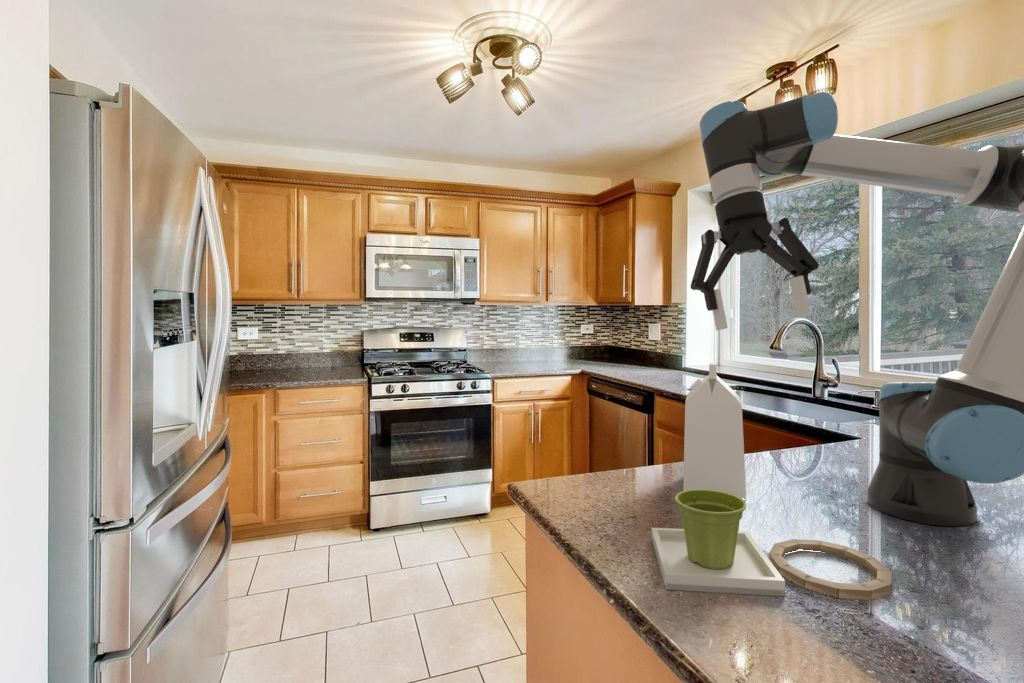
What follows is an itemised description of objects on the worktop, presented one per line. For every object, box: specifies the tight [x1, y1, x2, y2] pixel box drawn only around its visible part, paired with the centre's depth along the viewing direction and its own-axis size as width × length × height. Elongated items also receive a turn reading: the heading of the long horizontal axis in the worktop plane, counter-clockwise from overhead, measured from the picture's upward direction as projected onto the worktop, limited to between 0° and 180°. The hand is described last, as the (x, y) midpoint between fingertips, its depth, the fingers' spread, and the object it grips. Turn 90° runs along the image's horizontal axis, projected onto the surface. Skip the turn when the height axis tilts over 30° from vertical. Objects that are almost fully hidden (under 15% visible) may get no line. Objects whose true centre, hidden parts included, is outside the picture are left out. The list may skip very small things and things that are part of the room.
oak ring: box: [768, 538, 893, 601], centre depth 68 cm, size 14×14×1 cm
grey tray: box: [651, 527, 786, 597], centre depth 71 cm, size 15×15×2 cm
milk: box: [682, 361, 747, 500], centre depth 102 cm, size 12×12×26 cm
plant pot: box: [674, 489, 747, 569], centre depth 70 cm, size 9×9×9 cm
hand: (763, 323), depth 80 cm, fingers open, 13 cm apart
